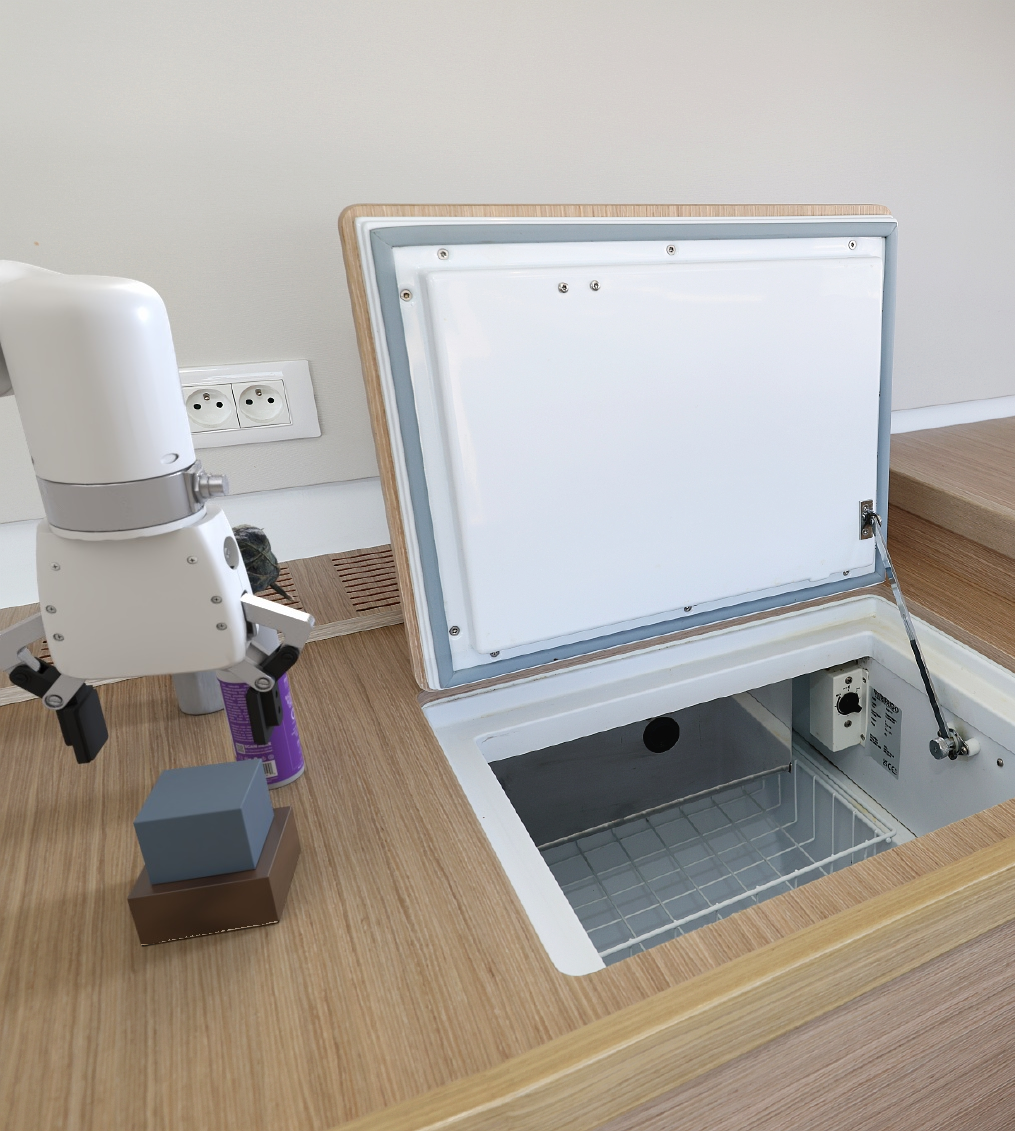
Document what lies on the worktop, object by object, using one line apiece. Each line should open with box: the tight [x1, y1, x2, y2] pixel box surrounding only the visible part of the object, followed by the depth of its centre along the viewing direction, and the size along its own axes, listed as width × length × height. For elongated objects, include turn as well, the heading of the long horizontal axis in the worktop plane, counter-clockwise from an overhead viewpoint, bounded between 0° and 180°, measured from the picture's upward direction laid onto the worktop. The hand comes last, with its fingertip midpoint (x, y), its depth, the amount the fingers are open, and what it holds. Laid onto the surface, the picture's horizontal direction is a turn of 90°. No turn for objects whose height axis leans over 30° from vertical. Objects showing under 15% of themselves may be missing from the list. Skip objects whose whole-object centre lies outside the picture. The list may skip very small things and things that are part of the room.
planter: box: [170, 670, 224, 715], centre depth 87 cm, size 4×4×10 cm
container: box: [216, 625, 306, 791], centre depth 77 cm, size 5×5×15 cm
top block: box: [133, 758, 274, 885], centre depth 64 cm, size 6×6×5 cm
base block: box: [126, 805, 302, 945], centre depth 66 cm, size 8×8×4 cm
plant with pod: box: [231, 523, 295, 603], centre depth 99 cm, size 8×11×20 cm
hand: (182, 742), depth 62 cm, fingers open, 9 cm apart
